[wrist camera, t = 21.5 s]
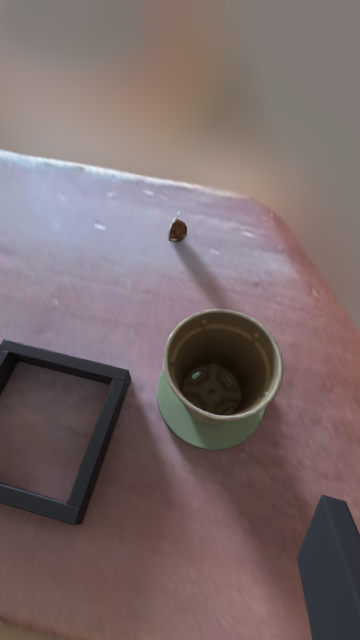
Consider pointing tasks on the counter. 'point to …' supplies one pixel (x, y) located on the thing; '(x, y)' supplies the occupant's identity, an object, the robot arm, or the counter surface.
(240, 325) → the flower pot
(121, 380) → the holder
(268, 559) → the counter surface
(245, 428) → the coaster
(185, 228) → the chocolate
